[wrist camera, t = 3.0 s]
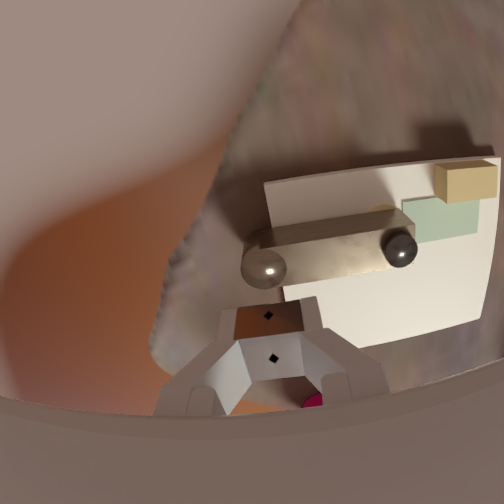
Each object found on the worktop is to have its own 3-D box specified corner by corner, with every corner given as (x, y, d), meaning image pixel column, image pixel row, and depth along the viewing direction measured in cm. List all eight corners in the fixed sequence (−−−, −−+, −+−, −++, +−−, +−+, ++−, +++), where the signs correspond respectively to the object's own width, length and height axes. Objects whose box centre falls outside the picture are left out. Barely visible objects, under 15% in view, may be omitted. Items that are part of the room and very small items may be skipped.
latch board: (495, 155, 25) (515, 163, 21) (476, 313, 33) (488, 330, 30) (263, 182, 28) (263, 194, 24) (294, 352, 36) (296, 374, 33)
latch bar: (398, 207, 27) (419, 228, 22) (399, 244, 28) (417, 268, 24) (239, 233, 28) (235, 258, 24) (248, 268, 30) (245, 297, 26)
